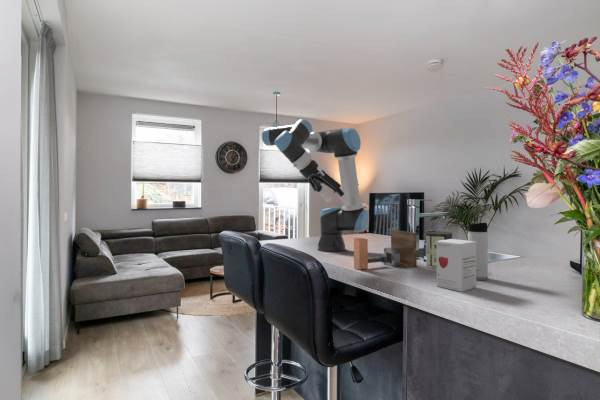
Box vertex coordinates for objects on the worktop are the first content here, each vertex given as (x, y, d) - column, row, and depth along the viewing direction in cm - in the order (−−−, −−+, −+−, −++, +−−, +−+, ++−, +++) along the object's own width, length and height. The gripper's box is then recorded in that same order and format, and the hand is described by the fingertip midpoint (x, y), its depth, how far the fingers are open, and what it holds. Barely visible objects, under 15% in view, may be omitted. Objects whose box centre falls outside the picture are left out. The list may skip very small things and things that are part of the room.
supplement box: (435, 286, 117) (435, 240, 117) (451, 282, 123) (450, 238, 123) (461, 292, 110) (461, 243, 110) (477, 287, 115) (477, 240, 115)
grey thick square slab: (394, 267, 149) (394, 250, 149) (384, 264, 155) (383, 248, 155) (400, 266, 150) (399, 249, 150) (389, 263, 156) (389, 247, 156)
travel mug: (476, 281, 124) (475, 223, 123) (464, 276, 130) (464, 221, 130) (492, 280, 125) (492, 222, 124) (480, 276, 131) (479, 221, 131)
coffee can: (446, 263, 155) (446, 231, 154) (456, 268, 144) (456, 233, 144) (422, 264, 155) (422, 231, 155) (430, 269, 144) (430, 234, 144)
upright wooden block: (359, 269, 144) (359, 239, 144) (354, 267, 148) (353, 238, 147) (387, 266, 149) (387, 237, 149) (381, 264, 153) (381, 236, 153)
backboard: (407, 267, 147) (406, 233, 147) (385, 262, 160) (385, 230, 160) (416, 266, 149) (416, 233, 149) (394, 261, 162) (394, 230, 162)
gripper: (287, 172, 156) (319, 206, 162) (313, 168, 133) (348, 208, 139) (299, 160, 158) (329, 194, 164) (325, 154, 135) (359, 194, 141)
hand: (338, 200), depth 152 cm, fingers open, 13 cm apart
